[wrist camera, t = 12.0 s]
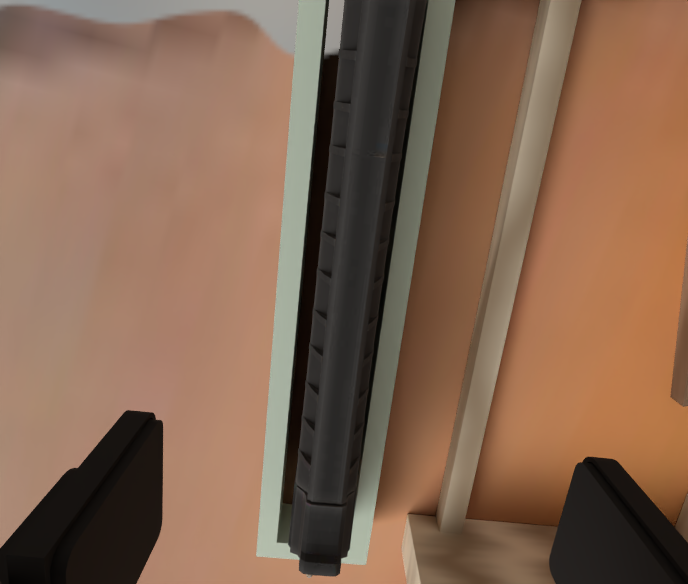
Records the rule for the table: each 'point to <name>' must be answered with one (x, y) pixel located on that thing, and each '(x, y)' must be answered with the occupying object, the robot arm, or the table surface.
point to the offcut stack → (682, 346)
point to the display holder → (395, 272)
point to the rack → (499, 351)
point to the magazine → (351, 270)
